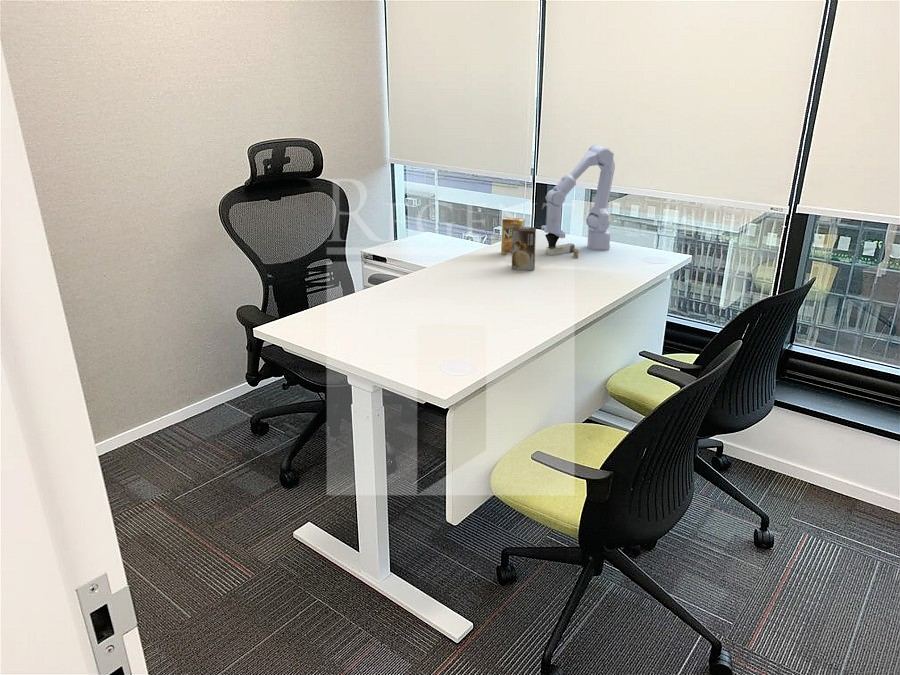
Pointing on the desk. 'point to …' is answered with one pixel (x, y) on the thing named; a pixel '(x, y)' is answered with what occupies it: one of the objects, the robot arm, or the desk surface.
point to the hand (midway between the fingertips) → (551, 250)
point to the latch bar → (560, 249)
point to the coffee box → (523, 248)
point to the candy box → (509, 232)
